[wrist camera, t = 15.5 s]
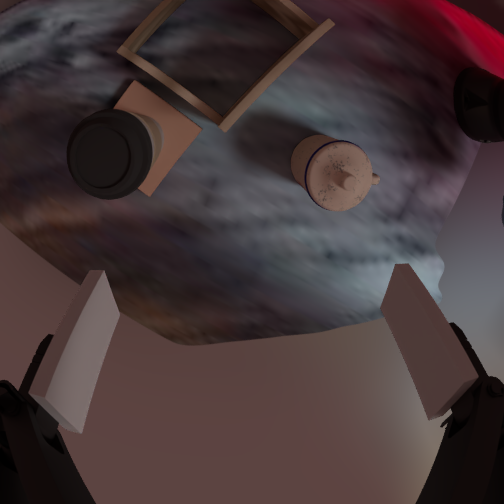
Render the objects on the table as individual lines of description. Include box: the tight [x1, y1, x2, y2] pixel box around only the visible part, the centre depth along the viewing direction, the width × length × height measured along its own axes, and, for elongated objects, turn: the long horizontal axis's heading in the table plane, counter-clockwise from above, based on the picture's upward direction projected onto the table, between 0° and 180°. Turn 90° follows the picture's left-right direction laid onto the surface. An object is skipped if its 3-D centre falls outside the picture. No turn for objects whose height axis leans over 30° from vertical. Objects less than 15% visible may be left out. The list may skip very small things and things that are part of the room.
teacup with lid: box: [291, 135, 380, 211], centre depth 37 cm, size 12×9×12 cm
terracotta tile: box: [113, 80, 202, 197], centre depth 36 cm, size 12×12×2 cm
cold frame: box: [117, 0, 335, 133], centre depth 27 cm, size 18×18×10 cm
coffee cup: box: [67, 109, 164, 200], centre depth 29 cm, size 9×9×15 cm
